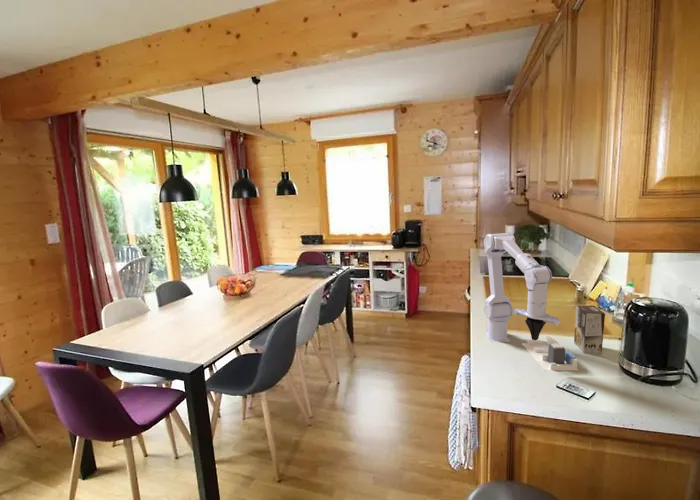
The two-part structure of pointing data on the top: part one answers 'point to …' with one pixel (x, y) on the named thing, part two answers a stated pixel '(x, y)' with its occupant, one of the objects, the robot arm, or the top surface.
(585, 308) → the coffee box
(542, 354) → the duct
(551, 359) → the plug
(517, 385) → the top surface
